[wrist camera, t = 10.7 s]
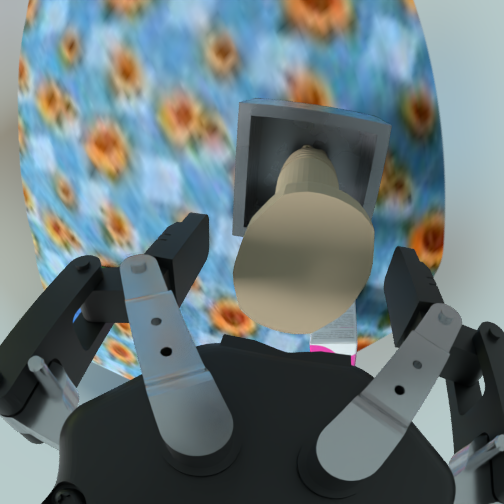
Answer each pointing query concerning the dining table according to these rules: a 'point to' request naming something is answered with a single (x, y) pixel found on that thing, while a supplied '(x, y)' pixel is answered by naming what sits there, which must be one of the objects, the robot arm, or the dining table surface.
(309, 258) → the handle
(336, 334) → the supplement box
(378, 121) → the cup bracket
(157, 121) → the dining table surface
